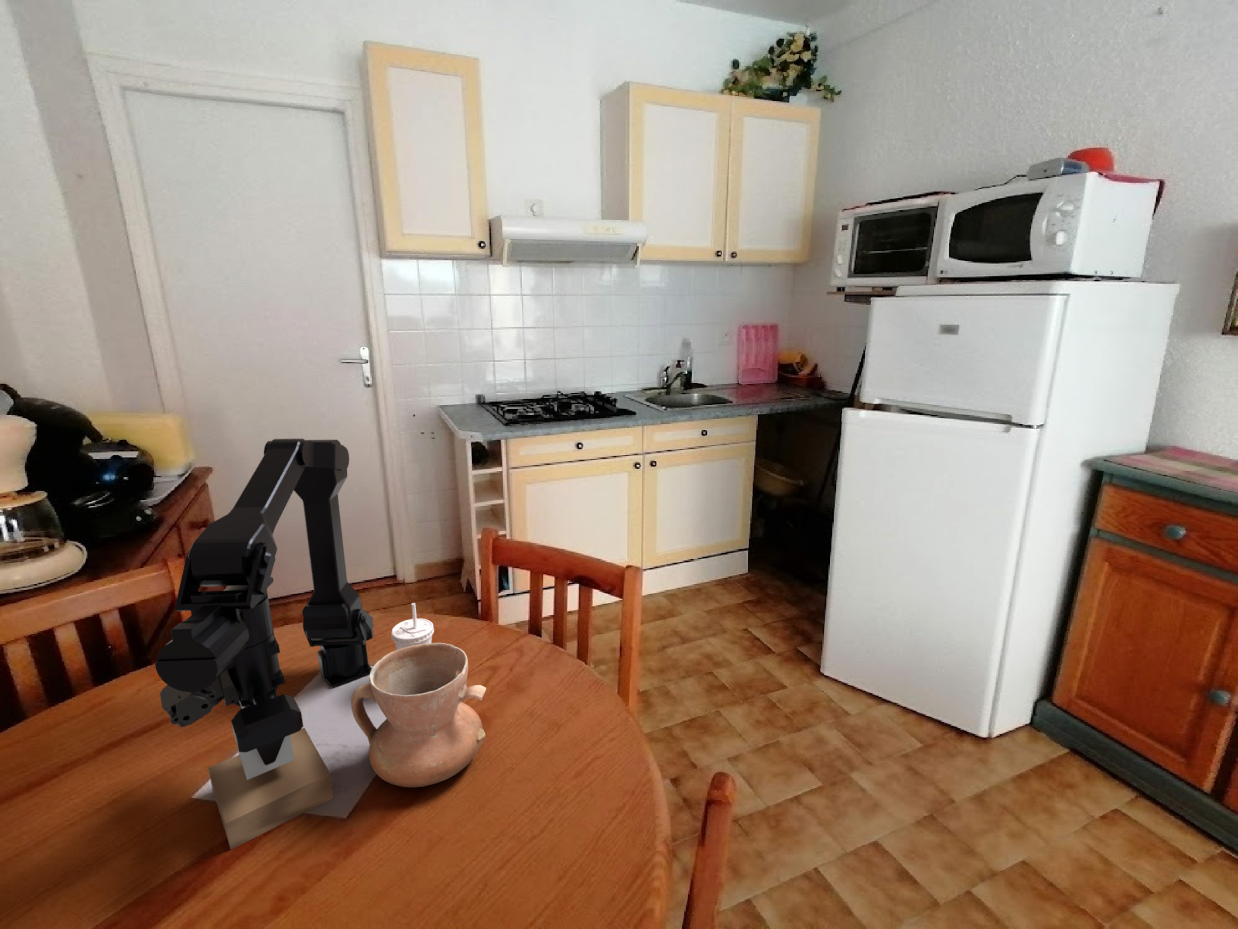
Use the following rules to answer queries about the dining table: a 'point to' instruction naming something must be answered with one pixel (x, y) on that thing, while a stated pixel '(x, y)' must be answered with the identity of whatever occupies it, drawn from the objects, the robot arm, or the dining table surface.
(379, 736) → the ceramic jug
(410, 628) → the smoothie
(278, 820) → the brown boxy piece
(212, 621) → the robot arm
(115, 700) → the dining table surface
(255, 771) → the grey cube
